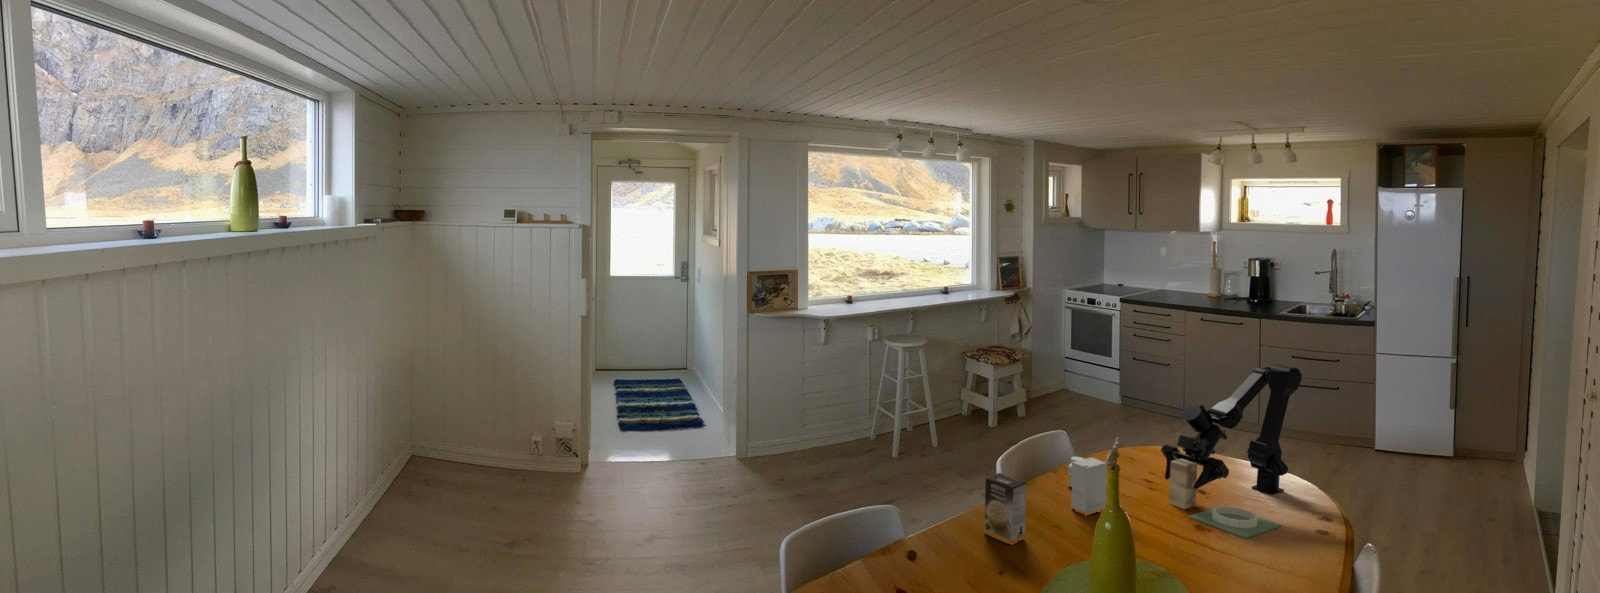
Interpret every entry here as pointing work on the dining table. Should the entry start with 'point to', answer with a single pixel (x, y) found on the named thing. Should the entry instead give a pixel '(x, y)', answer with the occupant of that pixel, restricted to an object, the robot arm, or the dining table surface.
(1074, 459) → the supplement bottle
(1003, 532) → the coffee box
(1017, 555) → the dining table surface
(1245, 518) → the putting green
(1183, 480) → the oak block
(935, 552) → the dining table surface
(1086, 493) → the skincare box
